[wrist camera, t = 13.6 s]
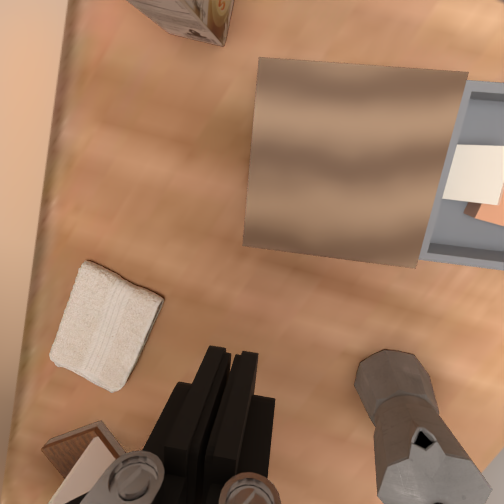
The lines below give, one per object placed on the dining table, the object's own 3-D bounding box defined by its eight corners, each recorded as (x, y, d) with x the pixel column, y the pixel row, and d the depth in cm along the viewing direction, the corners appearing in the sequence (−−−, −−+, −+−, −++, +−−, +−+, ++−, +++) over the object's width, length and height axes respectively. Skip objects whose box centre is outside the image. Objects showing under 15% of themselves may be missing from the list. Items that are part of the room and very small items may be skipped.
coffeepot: (343, 340, 43) (371, 472, 26) (422, 328, 41) (508, 462, 24) (364, 435, 47) (401, 601, 30) (437, 428, 45) (519, 602, 28)
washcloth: (57, 353, 51) (42, 366, 48) (88, 254, 45) (73, 261, 42) (127, 388, 51) (117, 403, 48) (168, 294, 45) (159, 305, 42)
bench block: (393, 243, 38) (415, 268, 30) (253, 226, 40) (242, 246, 32) (430, 87, 33) (468, 72, 25) (268, 75, 34) (258, 57, 27)
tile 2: (435, 197, 33) (440, 198, 35) (497, 205, 30) (499, 205, 31) (447, 144, 31) (452, 147, 33) (513, 146, 28) (515, 150, 30)
